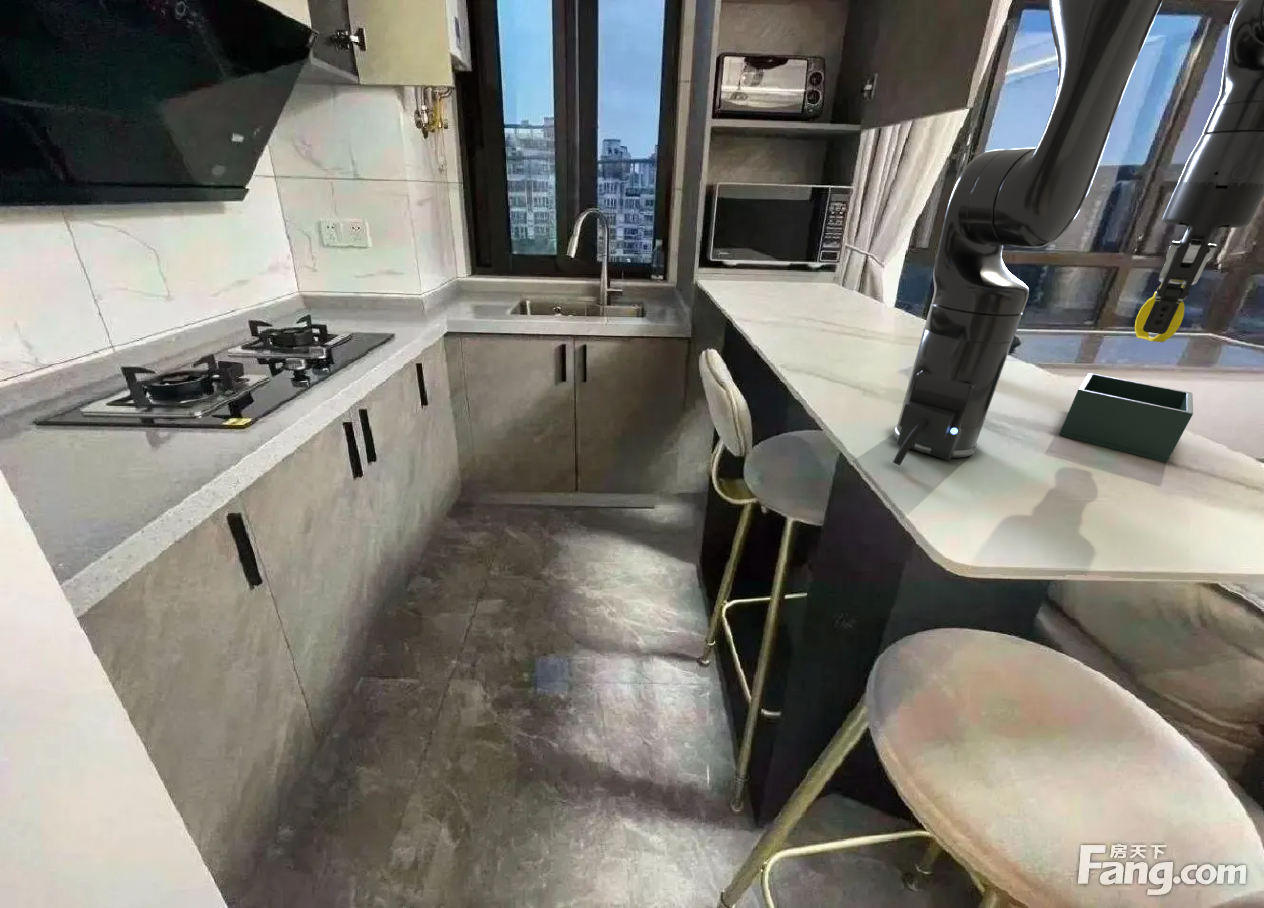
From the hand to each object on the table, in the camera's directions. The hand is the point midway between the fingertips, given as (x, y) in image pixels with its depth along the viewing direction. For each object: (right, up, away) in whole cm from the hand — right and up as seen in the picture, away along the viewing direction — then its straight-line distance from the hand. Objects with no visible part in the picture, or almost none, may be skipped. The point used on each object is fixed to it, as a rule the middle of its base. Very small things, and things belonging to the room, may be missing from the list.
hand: (1154, 328), depth 69 cm
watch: (0, -2, +1) cm, 2 cm away
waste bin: (0, -14, +6) cm, 15 cm away
